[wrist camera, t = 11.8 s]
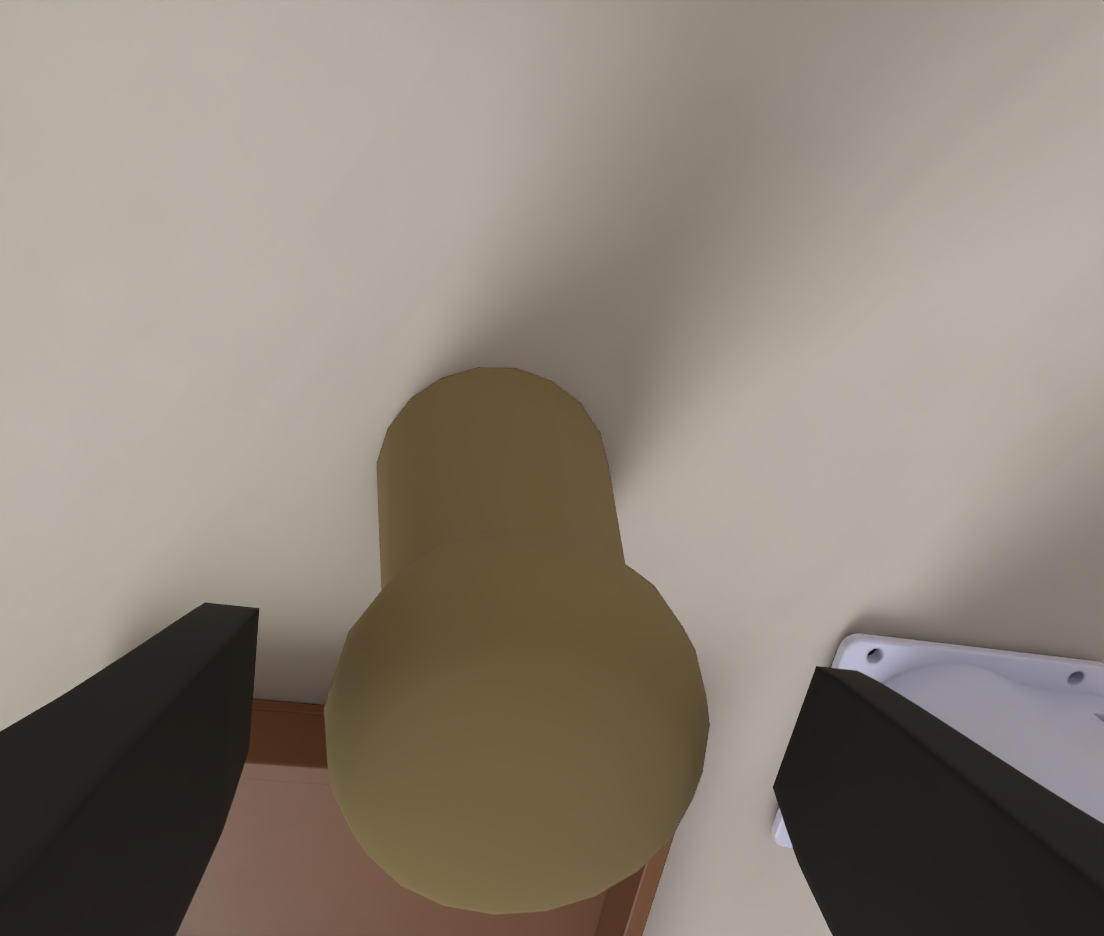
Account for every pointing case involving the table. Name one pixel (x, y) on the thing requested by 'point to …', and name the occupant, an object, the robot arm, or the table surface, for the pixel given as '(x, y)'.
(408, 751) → the olive rounded cylinder
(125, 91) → the table surface
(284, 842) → the tray
